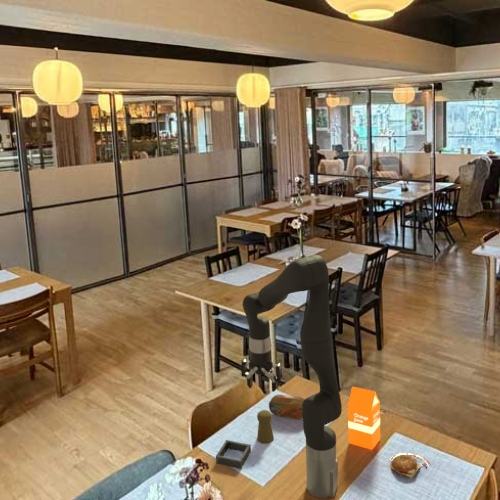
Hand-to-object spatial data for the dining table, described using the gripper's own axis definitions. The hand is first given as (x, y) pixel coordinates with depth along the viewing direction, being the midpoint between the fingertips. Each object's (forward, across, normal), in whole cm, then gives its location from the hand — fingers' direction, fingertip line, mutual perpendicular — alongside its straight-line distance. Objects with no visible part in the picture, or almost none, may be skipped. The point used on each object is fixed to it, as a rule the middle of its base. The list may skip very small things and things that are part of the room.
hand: (262, 388), depth 192 cm
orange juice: (+20, +35, +7) cm, 41 cm away
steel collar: (+20, -7, -14) cm, 25 cm away
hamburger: (+21, +51, -2) cm, 55 cm away
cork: (+20, +1, -1) cm, 20 cm away
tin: (+20, +5, +15) cm, 26 cm away
